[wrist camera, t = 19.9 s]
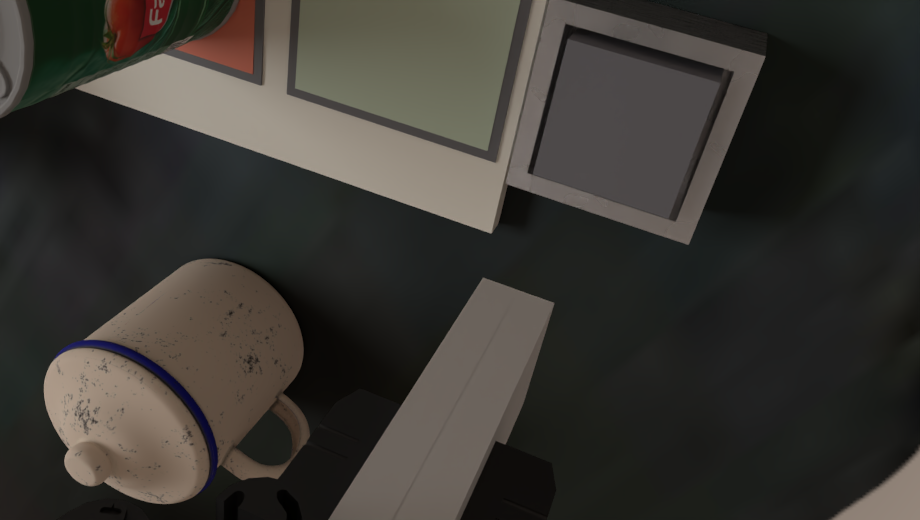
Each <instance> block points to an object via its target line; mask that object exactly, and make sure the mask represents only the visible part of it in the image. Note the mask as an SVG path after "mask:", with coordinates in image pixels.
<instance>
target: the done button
mask: <svg viewBox="0 0 920 520" xmlns="http://www.w3.org/2000/svg"><path fill="white" fill-rule="evenodd" d="M723 71H724V69H723V68H720V67H716V66H713V65H709V64H706V63H702V62H699V61H695V60H692V59H688V58H685V57H681V56H678V55H674V54H671V53H667V52H664V51H660V50H657V49H653V48H650V47H646V46H643V45H639V44H636V43H632V42H629V41H625V40H622V39H618V38H615V37H611V36H608V35H604V34H601V33H597V32H594V31H590V30H587V29H583V28H580V27H579V28H578V29H577V30H576V31H575V32H574V33H573V34H572V35H571V36H570V37H569V38H568V40H567V44H566V48H565V52H564V56H563V59H562V63H561V67H560V71H559V75H558V79H557V83H556V86H555V90H554V94H553V98H552V102H551V106H550V110H549V113H548V117H547V121H546V125H545V129H544V133H543V137H542V140H541V144H540V148H539V152H538V156H537V160H536V164H535V167H534V171H533V175H536V176H539V177H542V178H545V179H548V180H551V181H554V182H557V183H560V184H563V185H566V186H569V187H572V188H576V189H579V190H582V191H585V192H588V193H591V194H594V195H597V196H600V197H603V198H606V199H609V200H612V201H615V202H618V203H621V204H624V205H627V206H630V207H633V208H636V209H639V210H642V211H645V212H649V213H652V214H655V215H658V216H661V217H664V218H667V219H669V216H670V213H671V211H672V208H673V206H674V203H675V200H676V198H677V195H678V192H679V190H680V187H681V185H682V182H683V179H684V177H685V174H686V172H687V169H688V166H689V164H690V161H691V159H692V156H693V153H694V151H695V148H696V146H697V143H698V140H699V138H700V135H701V133H702V130H703V127H704V125H705V122H706V120H707V117H708V114H709V112H710V109H711V107H712V104H713V101H714V99H715V96H716V94H717V91H718V88H719V86H720V83H721V79H722V75H723Z"/></svg>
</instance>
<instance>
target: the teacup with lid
mask: <svg viewBox="0 0 920 520" xmlns="http://www.w3.org/2000/svg"><path fill="white" fill-rule="evenodd" d="M303 353H304V347H303V338H302V334H301V330H300V327H299V325H298V322H297V320H296V318H295V316H294V314H293V312H292V310H291V309H290V307H289V306H288V304H287V303H286V301H285V300H284V299H283V297H282V296H281V295H280V294H279V293H278V292H277V291H276V290H275V289H274V288H273V287H272V286H271V285H270V284H269V283H268V282H267V281H265V280H264V279H263V278H262V277H260V276H259V275H257V274H256V273H254V272H253V271H251V270H249V269H247V268H245V267H243V266H241V265H238V264H236V263H233V262H229V261H226V260H221V259H200V260H195V261H192V262H189V263H187V264H185V265H183V266H182V267H180V268H179V269H178V270H176V271H175V272H174V273H172V274H171V275H170V276H168V277H167V278H166V279H164V280H163V281H162V282H160V283H159V284H158V285H156V286H155V287H154V288H152V289H151V290H150V291H148V292H147V293H146V294H144V295H143V296H142V297H140V298H139V299H138V300H136V301H135V302H134V303H132V304H131V305H130V306H128V307H127V308H126V309H124V310H123V311H122V312H120V313H119V314H118V315H116V316H115V317H114V318H112V319H111V320H110V321H108V322H107V323H106V324H104V325H103V326H102V327H100V328H99V329H98V330H96V331H95V332H94V333H92V334H91V335H90V336H88V337H87V338H86V339H85V340H82V341H78V342H75V343H72V344H70V345H68V346H66V347H65V348H63V349H62V350H61V351H60V352H59V353H58V354H57V356H56V357H55V359H54V360H53V362H52V363H51V365H50V367H49V369H48V371H47V374H46V377H45V382H44V399H45V404H46V408H47V411H48V414H49V417H50V419H51V421H52V424H53V426H54V427H55V429H56V431H57V433H58V434H59V436H60V438H61V439H62V441H63V442H64V443H65V445H66V446H67V447H68V449H69V451H68V452H67V453H66V455H65V460H64V462H65V467H66V469H67V471H68V472H69V474H70V475H71V476H72V477H73V478H74V479H75V480H76V481H78V482H79V483H81V484H83V485H86V486H96V485H99V484H101V483H103V482H105V483H107V484H108V485H110V486H111V487H113V488H115V489H116V490H118V491H120V492H122V493H124V494H126V495H128V496H131V497H133V498H136V499H139V500H142V501H146V502H150V503H157V504H173V503H178V502H182V501H185V500H188V499H190V498H192V497H194V496H195V495H197V494H199V493H201V492H202V491H204V490H205V489H206V488H207V487H208V486H209V485H210V483H211V482H212V480H213V479H214V476H215V474H216V470H217V468H218V466H219V465H222V466H223V467H225V468H226V469H227V470H228V471H230V472H231V473H232V474H234V475H235V476H237V477H238V478H240V479H241V480H245V479H248V478H259V477H271V478H275V479H278V478H279V477H280V476H281V474H282V473H283V472H284V470H285V469H286V468H287V466H288V465H289V464H290V462H291V461H292V460H293V458H294V457H295V456H296V454H297V453H298V452H299V450H300V449H301V448H302V447H303V445H305V444H306V443H307V440H308V439H309V437H310V432H309V426H308V423H307V420H306V418H305V416H304V414H303V413H302V411H301V410H300V409H299V407H298V406H297V405H296V404H295V403H294V402H293V401H292V400H291V399H289V398H288V397H287V396H286V395H284V394H283V391H284V390H285V389H286V388H287V387H288V386H289V385H290V383H291V382H292V381H293V380H294V379H295V377H296V376H297V374H298V372H299V370H300V368H301V365H302V361H303ZM268 409H269V410H271V411H272V412H273V413H275V414H276V415H277V416H278V417H279V418H280V419H281V420H282V421H283V422H284V423H285V424H286V425H287V427H288V428H289V430H290V433H291V436H292V453H291V457H290V459H289V460H288V461H287V462H286V463H284V464H282V465H277V466H268V465H263V464H260V463H258V462H256V461H254V460H252V459H251V458H249V457H248V456H246V455H245V454H244V453H242V452H241V451H240V450H238V449H237V448H236V446H237V445H238V443H239V442H240V441H241V440H242V439H243V438H244V436H245V435H246V434H247V433H248V432H249V431H250V430H251V428H252V427H253V426H254V425H255V424H256V423H257V421H258V420H259V419H260V418H261V417H262V416H263V415H264V413H265V412H266V411H267V410H268Z"/></svg>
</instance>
